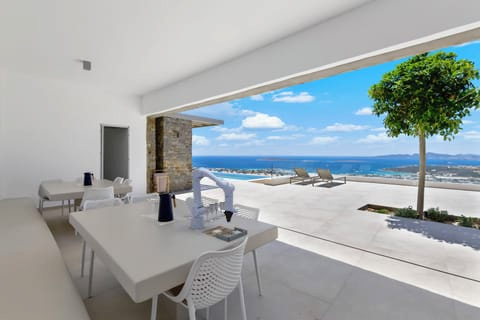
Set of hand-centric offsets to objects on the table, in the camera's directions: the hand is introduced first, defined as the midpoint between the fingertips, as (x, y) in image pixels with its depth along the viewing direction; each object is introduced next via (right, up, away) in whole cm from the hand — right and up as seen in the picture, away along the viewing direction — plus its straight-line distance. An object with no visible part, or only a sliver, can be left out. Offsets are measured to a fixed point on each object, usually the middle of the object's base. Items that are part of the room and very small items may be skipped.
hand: (228, 221), depth 155 cm
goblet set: (-12, -8, +36) cm, 39 cm away
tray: (+3, -8, -6) cm, 11 cm away
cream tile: (-7, -7, -3) cm, 11 cm away
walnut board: (-7, -8, +2) cm, 11 cm away
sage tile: (+6, -8, -3) cm, 10 cm away
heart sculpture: (-31, -7, +37) cm, 49 cm away
